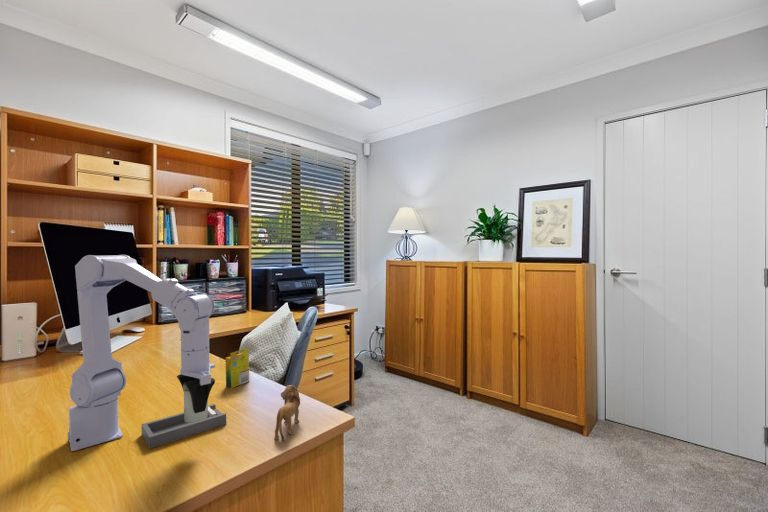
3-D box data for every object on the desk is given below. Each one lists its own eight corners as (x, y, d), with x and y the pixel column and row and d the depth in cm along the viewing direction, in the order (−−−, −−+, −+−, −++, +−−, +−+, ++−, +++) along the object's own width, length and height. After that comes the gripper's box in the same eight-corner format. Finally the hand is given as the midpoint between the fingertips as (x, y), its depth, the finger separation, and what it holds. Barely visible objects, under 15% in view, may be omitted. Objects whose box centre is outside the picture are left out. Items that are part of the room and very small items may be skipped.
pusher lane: (149, 448, 83) (149, 437, 83) (141, 434, 89) (141, 424, 89) (226, 424, 95) (226, 414, 94) (214, 413, 101) (214, 403, 101)
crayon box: (244, 380, 127) (243, 346, 127) (249, 381, 125) (249, 347, 125) (225, 387, 121) (224, 351, 120) (231, 388, 119) (230, 353, 119)
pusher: (193, 428, 90) (193, 420, 90) (185, 420, 95) (185, 412, 95) (216, 421, 94) (216, 413, 94) (208, 413, 99) (208, 406, 99)
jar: (187, 425, 79) (187, 388, 79) (180, 417, 83) (180, 382, 83) (211, 417, 83) (211, 382, 83) (204, 411, 86) (203, 377, 86)
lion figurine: (281, 416, 99) (281, 383, 99) (301, 414, 100) (301, 382, 100) (272, 444, 84) (271, 406, 84) (295, 443, 85) (295, 404, 85)
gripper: (225, 351, 80) (225, 412, 80) (203, 339, 91) (204, 394, 91) (190, 357, 75) (190, 423, 75) (171, 344, 86) (172, 402, 86)
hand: (196, 407), depth 83 cm, fingers closed on jar, 5 cm apart
